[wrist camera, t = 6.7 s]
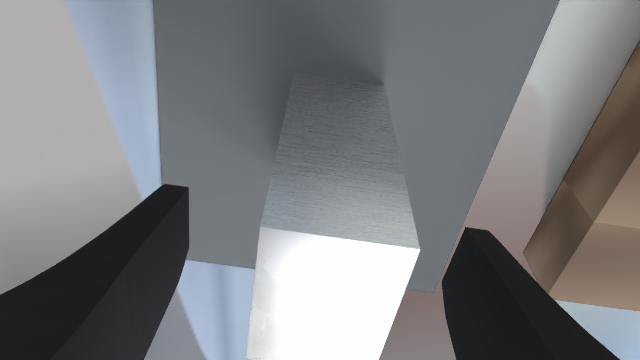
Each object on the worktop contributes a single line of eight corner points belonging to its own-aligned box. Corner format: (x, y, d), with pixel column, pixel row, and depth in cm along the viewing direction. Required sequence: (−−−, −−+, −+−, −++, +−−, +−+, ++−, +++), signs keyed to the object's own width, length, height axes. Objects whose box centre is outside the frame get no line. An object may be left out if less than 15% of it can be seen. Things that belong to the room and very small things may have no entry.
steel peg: (384, 84, 15) (420, 249, 8) (359, 182, 17) (373, 373, 11) (294, 69, 15) (260, 226, 8) (281, 170, 17) (245, 357, 11)
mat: (432, 291, 21) (433, 293, 21) (166, 255, 20) (165, 257, 20) (577, -46, 13) (579, -46, 13) (148, -125, 12) (147, -124, 12)
